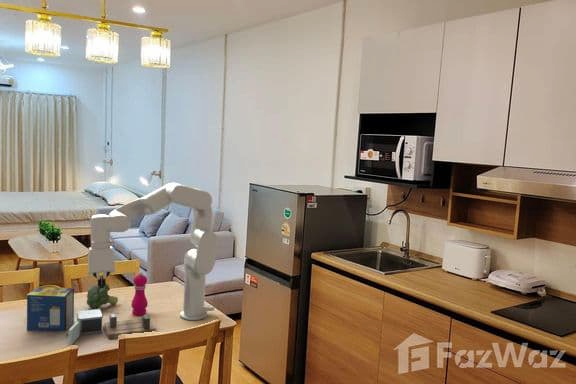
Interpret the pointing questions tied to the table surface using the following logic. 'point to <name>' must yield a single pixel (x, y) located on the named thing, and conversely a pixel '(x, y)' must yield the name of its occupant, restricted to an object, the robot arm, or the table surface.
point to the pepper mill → (139, 296)
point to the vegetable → (100, 296)
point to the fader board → (130, 327)
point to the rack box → (90, 321)
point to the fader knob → (113, 320)
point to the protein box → (50, 309)
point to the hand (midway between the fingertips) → (101, 287)
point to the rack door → (74, 332)
